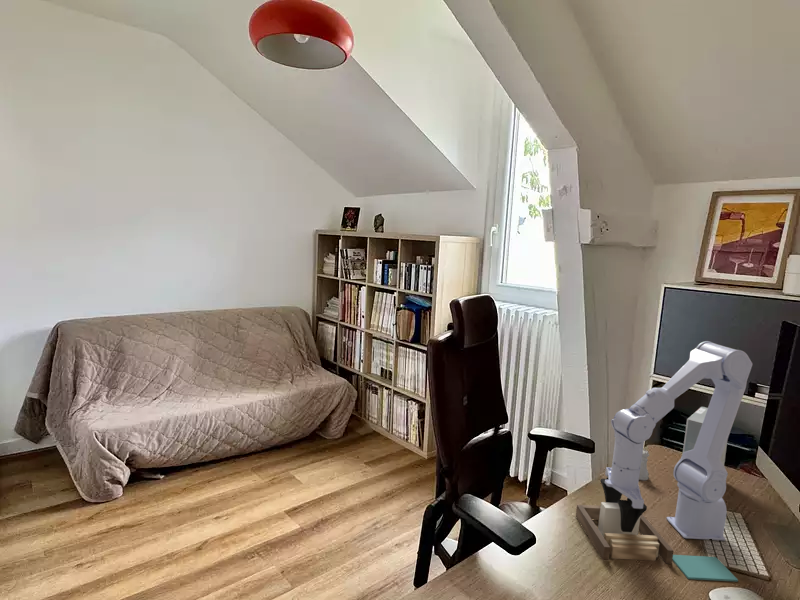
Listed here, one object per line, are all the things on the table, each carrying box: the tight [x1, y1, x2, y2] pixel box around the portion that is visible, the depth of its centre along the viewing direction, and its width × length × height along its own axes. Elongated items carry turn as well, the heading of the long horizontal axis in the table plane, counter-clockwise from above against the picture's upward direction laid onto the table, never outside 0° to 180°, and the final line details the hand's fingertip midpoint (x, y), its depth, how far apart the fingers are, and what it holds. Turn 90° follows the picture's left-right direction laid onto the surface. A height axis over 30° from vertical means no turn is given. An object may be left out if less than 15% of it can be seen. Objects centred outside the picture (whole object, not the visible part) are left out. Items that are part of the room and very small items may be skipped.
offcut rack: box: [575, 504, 675, 565], centre depth 111 cm, size 14×16×3 cm
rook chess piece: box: [639, 448, 650, 482], centre depth 141 cm, size 4×4×8 cm
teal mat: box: [672, 554, 739, 583], centre depth 102 cm, size 10×7×1 cm
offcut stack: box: [604, 533, 659, 562], centre depth 105 cm, size 11×3×4 cm, turn 90°
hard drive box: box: [682, 406, 728, 466], centre depth 138 cm, size 16×8×20 cm, turn 136°
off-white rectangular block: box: [597, 501, 640, 537], centre depth 112 cm, size 8×2×7 cm, turn 90°
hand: (618, 520), depth 112 cm, fingers open, 7 cm apart
